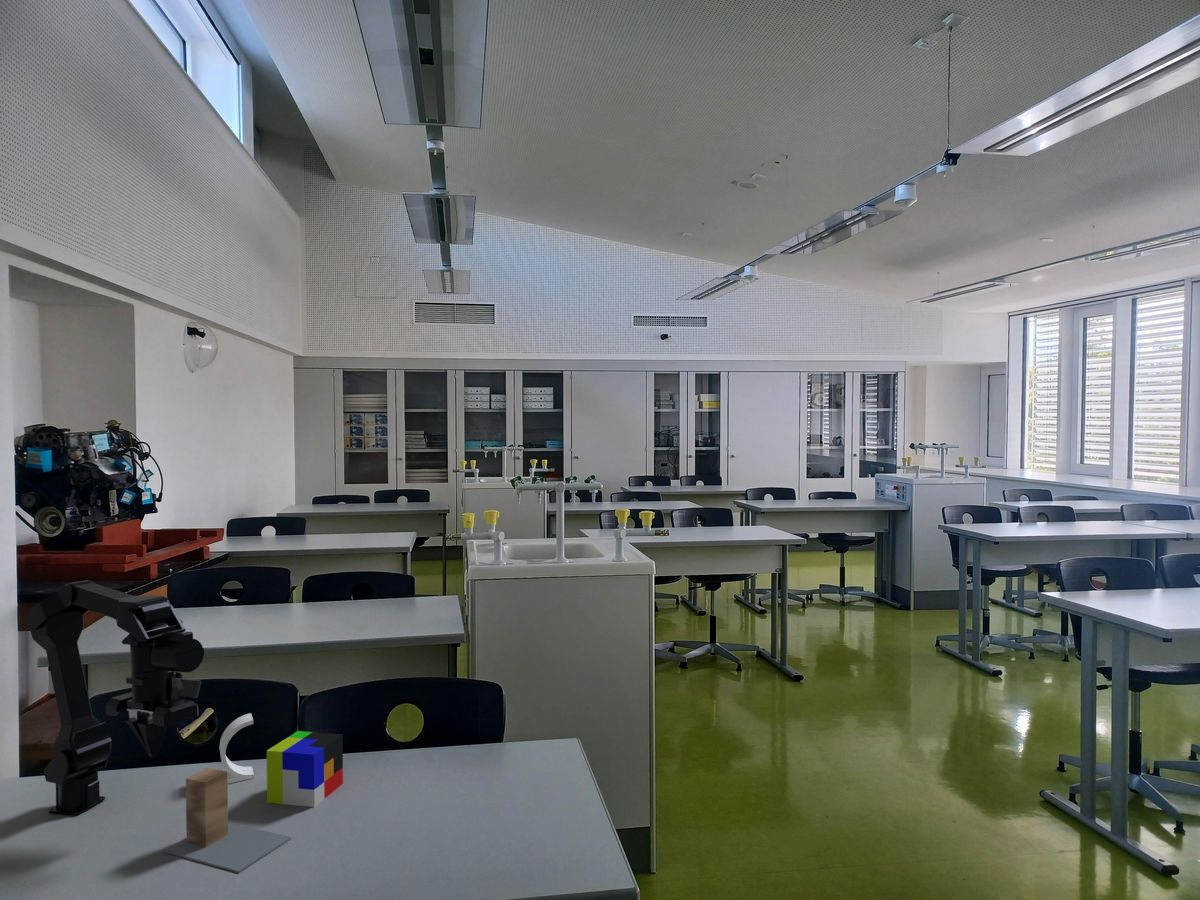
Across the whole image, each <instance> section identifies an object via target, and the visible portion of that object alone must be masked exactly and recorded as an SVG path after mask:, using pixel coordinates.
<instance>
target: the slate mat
mask: <svg viewBox="0 0 1200 900" xmlns="http://www.w3.org/2000/svg"><path fill="white" fill-rule="evenodd" d="M291 840H292V837H291V836H287V835H283V834H279V833H275V832H270V831H267V830H262V829H258V828H256V827H255V828H254V827H250V826H246V825H243V824H238V823H233V822H230V821H228V835H226V836H225V837H223V838H221V839H220V840H218V841H216V842H214V843H213V844H211V845H209V846H208V847H202V846H198V845H194V844H191V843H187V837H184V838H183V839H181V840H180V841H178V842H176V843H174V844H173V845H170V846H169V847H167V848H165V849H163V853H165V854H169V855H172V856H176V857H180V858H183V859H187V860H189V861H190V860H191V861H194V862H198V863H201V864H206V865H210V866H211V867H216V868H220V869H223V870H225V871H226V870H228V871H231V872H234V873H237V874H238V873H239V874H240V873H241V872H243V871H244V870H246V869H247V868H249V867H251V866H252V865H254V864H255V863H257V862H258V861H259V860H261V859H263V858H264V857H266V856H267V855H269V854H270V853H272V852H274V851H275V850H277V849H278V848H280V847H281V846H283V845H284V844H286V843H287V842H289V841H291Z"/></svg>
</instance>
